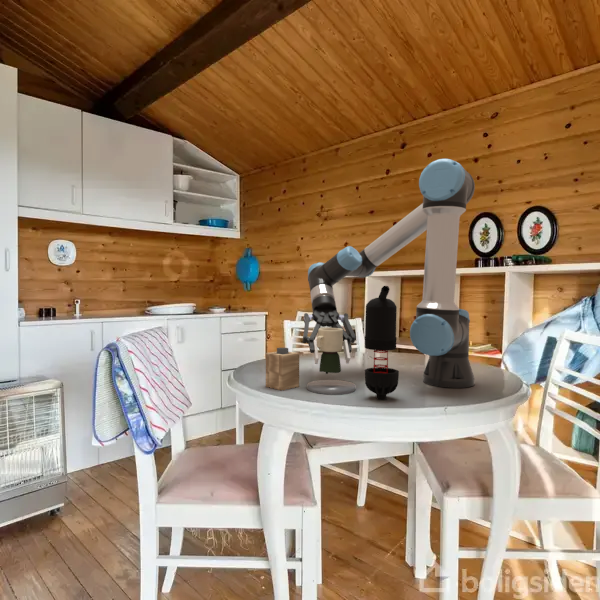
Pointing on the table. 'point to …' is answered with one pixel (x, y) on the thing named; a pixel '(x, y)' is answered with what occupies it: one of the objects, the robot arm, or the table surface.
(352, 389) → the coaster
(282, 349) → the dark grey tall cylinder
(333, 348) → the character mug
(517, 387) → the table surface
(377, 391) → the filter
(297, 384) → the block
